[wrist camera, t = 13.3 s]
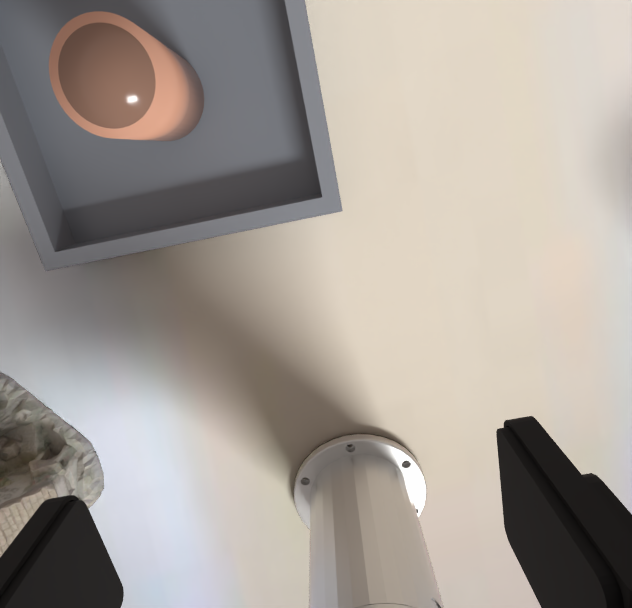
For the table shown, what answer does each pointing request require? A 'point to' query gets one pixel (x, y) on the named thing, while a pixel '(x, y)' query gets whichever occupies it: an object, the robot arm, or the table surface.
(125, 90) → the cup
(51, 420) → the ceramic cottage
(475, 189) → the table surface
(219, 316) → the table surface
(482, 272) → the table surface
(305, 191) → the tray
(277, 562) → the table surface
